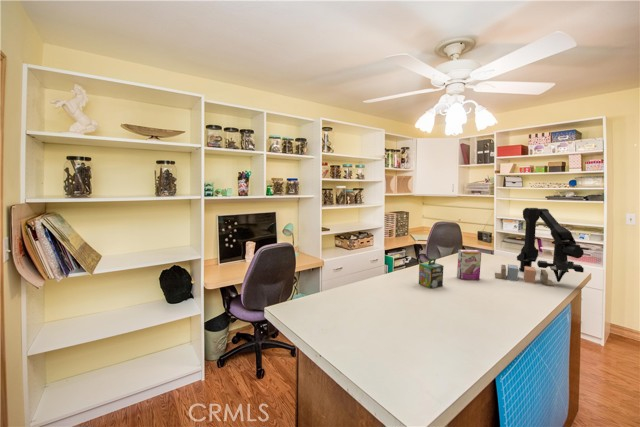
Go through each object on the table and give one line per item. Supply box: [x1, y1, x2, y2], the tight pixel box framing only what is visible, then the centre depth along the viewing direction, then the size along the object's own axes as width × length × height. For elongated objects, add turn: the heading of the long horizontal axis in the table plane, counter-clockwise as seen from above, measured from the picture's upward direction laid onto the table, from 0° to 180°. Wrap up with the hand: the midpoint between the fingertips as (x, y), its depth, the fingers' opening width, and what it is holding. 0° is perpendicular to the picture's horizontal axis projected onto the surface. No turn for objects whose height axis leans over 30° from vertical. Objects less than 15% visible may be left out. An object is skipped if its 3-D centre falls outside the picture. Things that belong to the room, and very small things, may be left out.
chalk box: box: [418, 258, 444, 289], centre depth 157 cm, size 9×9×15 cm
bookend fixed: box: [494, 264, 507, 280], centre depth 170 cm, size 10×5×6 cm, turn 149°
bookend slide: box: [539, 268, 555, 287], centre depth 159 cm, size 10×5×6 cm, turn 149°
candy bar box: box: [456, 249, 482, 281], centre depth 167 cm, size 11×5×16 cm, turn 84°
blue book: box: [506, 264, 519, 282], centre depth 167 cm, size 8×4×7 cm, turn 149°
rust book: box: [523, 266, 537, 284], centre depth 163 cm, size 8×4×7 cm, turn 149°
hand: (558, 281), depth 157 cm, fingers closed
